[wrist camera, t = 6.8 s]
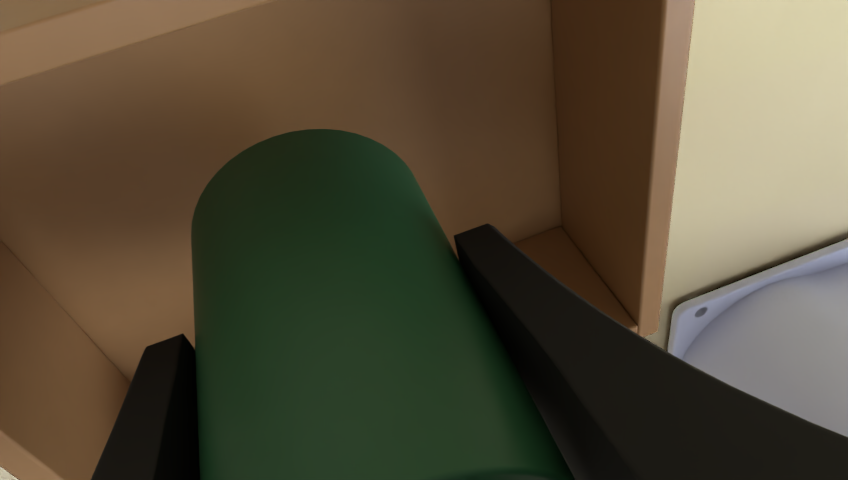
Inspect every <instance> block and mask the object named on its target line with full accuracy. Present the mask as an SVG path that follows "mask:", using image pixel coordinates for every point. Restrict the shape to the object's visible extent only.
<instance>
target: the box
mask: <svg viewBox="0 0 848 480" xmlns="http://www.w3.org/2000/svg"><path fill="white" fill-rule="evenodd" d="M694 5H695V0H0V466H1V467H2V468H3V469H5V470H6V471H7V472H9V473H10V474H12V475H13V476H14V477H16V478H17V479H19V480H91V478H92V475H93V473H94V471H95V468H96V466H97V464H98V461H99V459H100V457H101V454H102V452H103V450H104V447H105V445H106V443H107V440H108V438H109V436H110V434H111V431H112V429H113V426H114V424H115V421H116V419H117V416H118V414H119V411H120V409H121V407H122V404H123V402H124V399H125V396H126V394H127V391H128V389H129V386H130V384H131V381H132V379H133V376H134V374H135V371H136V369H137V366H138V364H139V361H140V359H141V356H142V354H143V352H144V350H145V348H146V347H147V346H150V345H152V344H155V343H158V342H161V341H163V340H166V339H169V338H172V337H174V336H177V335H180V334H184V335H185V336H186V338H187V339H188V340H189V342H190V343H191V344H192V346H193V347H194V349H195V329H194V302H193V275H192V248H191V226H192V219H193V214H194V210H195V207H196V205H197V202H198V200H199V197H200V196H201V194H202V192H203V190H204V189H205V187H206V185H207V184H208V183H209V181H210V180H211V179H212V178H213V176H214V175H215V174H216V173H217V172H218V171H219V170H220V169H221V168H222V167H223V166H224V165H225V164H226V163H227V162H228V161H229V160H231V159H232V158H233V157H235V156H236V155H238V154H239V153H240V152H242V151H243V150H245V149H247V148H249V147H251V146H253V145H254V144H256V143H258V142H261V141H263V140H266V139H268V138H271V137H273V136H277V135H280V134H284V133H288V132H292V131H299V130H306V129H333V130H342V131H347V132H352V133H356V134H359V135H362V136H365V137H368V138H370V139H372V140H374V141H376V142H378V143H380V144H382V145H384V146H386V147H387V148H388V149H390V150H391V151H393V152H394V153H395V154H397V155H398V156H399V157H400V158H401V159H402V160H403V161H404V162H405V163H406V165H407V166H408V167H409V169H410V170H411V171H412V173H413V175H414V177H415V178H416V180H417V182H418V184H419V186H420V188H421V190H422V192H423V193H424V195H425V197H426V199H427V201H428V203H429V205H430V207H431V209H432V210H433V212H434V214H435V216H436V218H437V220H438V222H439V224H440V225H441V227H442V229H443V231H444V233H445V235H446V237H447V239H448V241H449V242H450V244H451V246H452V248H453V250H454V252H455V254H456V256H457V257H458V254H457V249H456V244H455V240H454V235H456V234H459V233H462V232H465V231H467V230H470V229H473V228H476V227H479V226H481V225H484V224H487V223H488V224H490V225H492V226H494V227H495V228H496V229H498V230H499V231H500V232H501V233H502V234H503V235H504V236H505V237H506V238H507V239H509V240H510V241H511V242H512V243H513V244H514V245H515V246H517V247H518V248H519V249H520V250H521V251H523V252H524V253H525V254H526V255H527V256H529V257H530V258H531V259H532V260H534V261H535V262H536V263H537V264H539V265H540V266H541V267H542V268H543V269H545V270H546V271H547V272H549V273H550V274H551V275H553V276H554V277H555V278H556V279H558V280H559V281H560V282H562V283H563V284H565V285H566V286H567V287H569V288H570V289H571V290H573V291H574V292H576V293H577V294H578V295H580V296H581V297H582V298H584V299H585V300H587V301H588V302H589V303H591V304H592V305H594V306H595V307H597V308H598V309H600V310H601V311H603V312H604V313H605V314H607V315H609V316H610V317H612V318H613V319H615V320H616V321H618V322H619V323H621V324H622V325H624V326H626V327H627V328H629V329H630V330H632V331H633V332H635V333H637V334H638V335H640V336H642V337H645V336H648V335H650V334H653V333H655V332H657V331H658V326H659V317H660V308H661V300H662V291H663V282H664V273H665V264H666V255H667V246H668V237H669V228H670V219H671V210H672V201H673V192H674V184H675V175H676V166H677V157H678V148H679V139H680V130H681V121H682V112H683V103H684V94H685V85H686V76H687V67H688V59H689V50H690V41H691V32H692V23H693V14H694ZM458 259H459V258H458Z"/></svg>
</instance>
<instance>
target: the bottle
mask: <svg viewBox="0 0 848 480" xmlns="http://www.w3.org/2000/svg"><path fill="white" fill-rule="evenodd" d="M191 248H192V275H193V302H194V329H195V357H196V384H197V411H198V438H199V466H200V480H575V478H574V476H573V474H572V472H571V470H570V468H569V467H568V465H567V463H566V461H565V459H564V457H563V455H562V453H561V452H560V450H559V448H558V446H557V444H556V442H555V440H554V438H553V436H552V435H551V433H550V431H549V429H548V427H547V425H546V423H545V421H544V419H543V418H542V416H541V414H540V412H539V410H538V408H537V406H536V404H535V403H534V401H533V399H532V397H531V395H530V393H529V391H528V389H527V387H526V386H525V384H524V382H523V380H522V378H521V376H520V374H519V372H518V371H517V369H516V367H515V365H514V363H513V361H512V359H511V357H510V355H509V354H508V352H507V350H506V348H505V346H504V344H503V342H502V340H501V338H500V337H499V335H498V333H497V331H496V329H495V327H494V325H493V323H492V322H491V320H490V318H489V316H488V314H487V312H486V310H485V308H484V306H483V305H482V303H481V301H480V299H479V297H478V295H477V293H476V291H475V290H474V288H473V286H472V284H471V282H470V280H469V278H468V276H467V274H466V273H465V271H464V269H463V267H462V265H461V263H460V261H459V259H458V257H457V256H456V254H455V252H454V250H453V248H452V246H451V244H450V242H449V241H448V239H447V237H446V235H445V233H444V231H443V229H442V227H441V225H440V224H439V222H438V220H437V218H436V216H435V214H434V212H433V210H432V209H431V207H430V205H429V203H428V201H427V199H426V197H425V195H424V193H423V192H422V190H421V188H420V186H419V184H418V182H417V180H416V178H415V177H414V175H413V173H412V171H411V170H410V169H409V167H408V166H407V165H406V163H405V162H404V161H403V160H402V159H401V158H400V157H399V156H398V155H397V154H395V153H394V152H393V151H391V150H390V149H388V148H387V147H386V146H384V145H382V144H380V143H378V142H376V141H374V140H372V139H370V138H368V137H365V136H362V135H359V134H356V133H352V132H347V131H342V130H333V129H306V130H299V131H292V132H288V133H284V134H280V135H277V136H273V137H271V138H268V139H266V140H263V141H261V142H258V143H256V144H254V145H253V146H251V147H249V148H247V149H245V150H243V151H242V152H240V153H239V154H238V155H236V156H235V157H233V158H232V159H231V160H229V161H228V162H227V163H226V164H225V165H224V166H223V167H222V168H221V169H220V170H219V171H218V172H217V173H216V174H215V175H214V176H213V178H212V179H211V180H210V181H209V183H208V184H207V185H206V187H205V189H204V190H203V192H202V194H201V196H200V197H199V200H198V202H197V205H196V207H195V210H194V214H193V219H192V226H191Z"/></svg>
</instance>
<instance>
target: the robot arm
mask: <svg viewBox="0 0 848 480" xmlns="http://www.w3.org/2000/svg"><path fill="white" fill-rule="evenodd" d="M454 240H455V244H456V249H457V254H458V258H459V261H460V263H461V265H462V267H463V269H464V271H465V273H466V274H467V276H468V278H469V280H470V282H471V284H472V286H473V288H474V290H475V291H476V293H477V295H478V297H479V299H480V301H481V303H482V305H483V306H484V308H485V310H486V312H487V314H488V316H489V318H490V320H491V322H492V323H493V325H494V327H495V329H496V331H497V333H498V335H499V337H500V338H501V340H502V342H503V344H504V346H505V348H506V350H507V352H508V354H509V355H510V357H511V359H512V361H513V363H514V365H515V367H516V369H517V371H518V372H519V374H520V376H521V378H522V380H523V382H524V384H525V386H526V387H527V389H528V391H529V393H530V395H531V397H532V399H533V401H534V403H535V404H536V406H537V408H538V410H539V412H540V414H541V416H542V418H543V419H544V421H545V423H546V425H547V427H548V429H549V431H550V433H551V435H552V436H553V438H554V440H555V442H556V444H557V446H558V448H559V450H560V452H561V453H562V455H563V457H564V459H565V461H566V463H567V465H568V467H569V468H570V470H571V472H572V474H573V476H574V478H575V480H848V239H845V240H843V241H840V242H838V243H835V244H832V245H830V246H827V247H825V248H822V249H820V250H817V251H814V252H812V253H809V254H807V255H804V256H801V257H799V258H796V259H794V260H791V261H789V262H786V263H783V264H781V265H778V266H776V267H773V268H770V269H768V270H765V271H763V272H760V273H758V274H755V275H752V276H750V277H747V278H745V279H742V280H739V281H737V282H734V283H732V284H729V285H727V286H724V287H721V288H719V289H716V290H714V291H711V292H708V293H706V294H703V295H701V296H698V297H696V298H693V299H690V300H688V301H685V302H683V303H681V304H680V305H678V306H677V307H676V308H675V309H674V311H673V314H672V320H671V328H670V335H669V343H668V350H667V351H665V350H663V349H662V348H660V347H658V346H656V345H655V344H653V343H651V342H650V341H648V340H646V339H645V338H643V337H642V336H640V335H638V334H637V333H635V332H633V331H632V330H630V329H629V328H627V327H626V326H624V325H622V324H621V323H619V322H618V321H616V320H615V319H613V318H612V317H610V316H609V315H607V314H605V313H604V312H603V311H601V310H600V309H598V308H597V307H595V306H594V305H592V304H591V303H589V302H588V301H587V300H585V299H584V298H582V297H581V296H580V295H578V294H577V293H576V292H574V291H573V290H571V289H570V288H569V287H567V286H566V285H565V284H563V283H562V282H560V281H559V280H558V279H556V278H555V277H554V276H553V275H551V274H550V273H549V272H547V271H546V270H545V269H543V268H542V267H541V266H540V265H539V264H537V263H536V262H535V261H534V260H532V259H531V258H530V257H529V256H527V255H526V254H525V253H524V252H523V251H521V250H520V249H519V248H518V247H517V246H515V245H514V244H513V243H512V242H511V241H510V240H509V239H507V238H506V237H505V236H504V235H503V234H502V233H501V232H500V231H499V230H498V229H496V228H495V227H494V226H492V225H490V224H488V223H487V224H484V225H481V226H479V227H476V228H473V229H470V230H467V231H465V232H462V233H459V234H456V235H454ZM91 480H200V466H199V438H198V411H197V384H196V357H195V349H194V347H193V346H192V344H191V343H190V342H189V340H188V339H187V338H186V336H185V335H184V334H180V335H177V336H174V337H172V338H169V339H166V340H163V341H161V342H158V343H155V344H152V345H150V346H147V347H146V348H145V350H144V352H143V354H142V356H141V359H140V361H139V364H138V366H137V369H136V371H135V374H134V376H133V379H132V381H131V384H130V386H129V389H128V391H127V394H126V396H125V399H124V402H123V404H122V407H121V409H120V411H119V414H118V416H117V419H116V421H115V424H114V426H113V429H112V431H111V434H110V436H109V438H108V440H107V443H106V445H105V447H104V450H103V452H102V454H101V457H100V459H99V461H98V464H97V466H96V468H95V471H94V473H93V475H92V478H91Z"/></svg>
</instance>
